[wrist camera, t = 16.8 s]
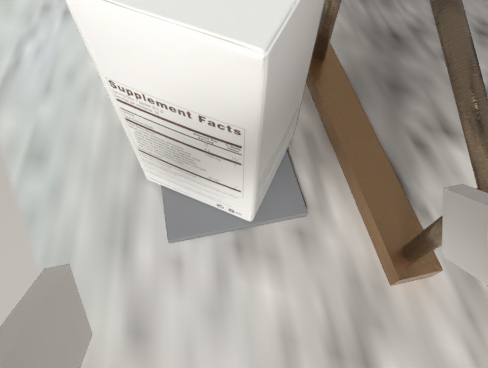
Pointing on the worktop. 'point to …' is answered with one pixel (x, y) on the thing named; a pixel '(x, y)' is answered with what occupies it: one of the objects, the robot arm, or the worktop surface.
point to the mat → (218, 221)
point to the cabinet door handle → (373, 156)
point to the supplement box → (204, 87)
